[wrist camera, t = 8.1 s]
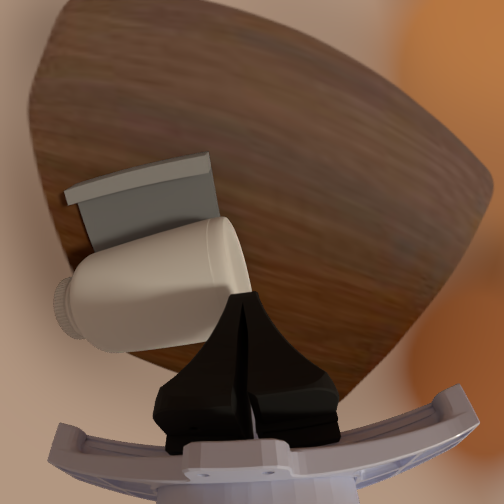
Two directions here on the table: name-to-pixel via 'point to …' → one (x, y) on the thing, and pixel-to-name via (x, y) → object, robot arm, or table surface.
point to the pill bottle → (154, 289)
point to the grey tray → (146, 199)
